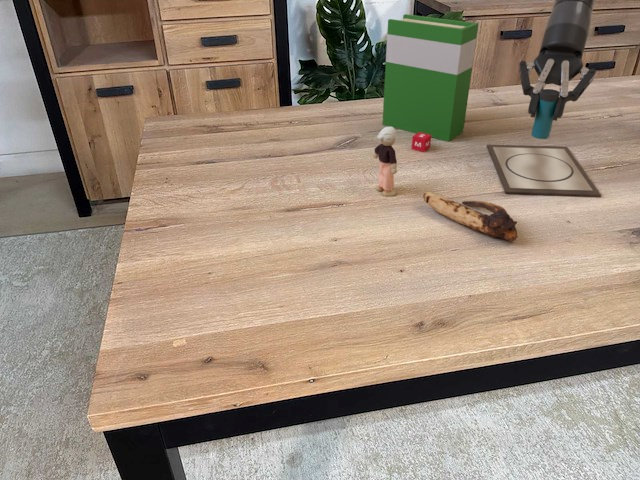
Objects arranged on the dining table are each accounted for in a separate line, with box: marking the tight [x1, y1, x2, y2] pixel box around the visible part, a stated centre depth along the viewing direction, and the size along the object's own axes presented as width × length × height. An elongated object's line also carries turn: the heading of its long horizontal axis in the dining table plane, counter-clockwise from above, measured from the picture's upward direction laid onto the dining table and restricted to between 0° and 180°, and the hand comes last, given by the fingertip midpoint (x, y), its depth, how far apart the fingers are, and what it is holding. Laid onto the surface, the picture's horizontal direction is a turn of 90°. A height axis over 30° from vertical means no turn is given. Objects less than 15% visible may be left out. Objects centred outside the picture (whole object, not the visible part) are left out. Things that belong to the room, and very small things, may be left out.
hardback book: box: [381, 13, 479, 142], centre depth 121 cm, size 18×7×24 cm, turn 52°
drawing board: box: [486, 144, 602, 198], centre depth 108 cm, size 17×22×1 cm
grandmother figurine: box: [372, 126, 398, 197], centre depth 98 cm, size 8×4×13 cm, turn 35°
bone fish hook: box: [422, 191, 519, 242], centre depth 91 cm, size 9×5×18 cm
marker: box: [530, 88, 560, 140], centre depth 99 cm, size 3×3×8 cm
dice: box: [411, 132, 432, 153], centre depth 117 cm, size 3×3×3 cm
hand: (544, 116), depth 98 cm, fingers closed on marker, 3 cm apart
